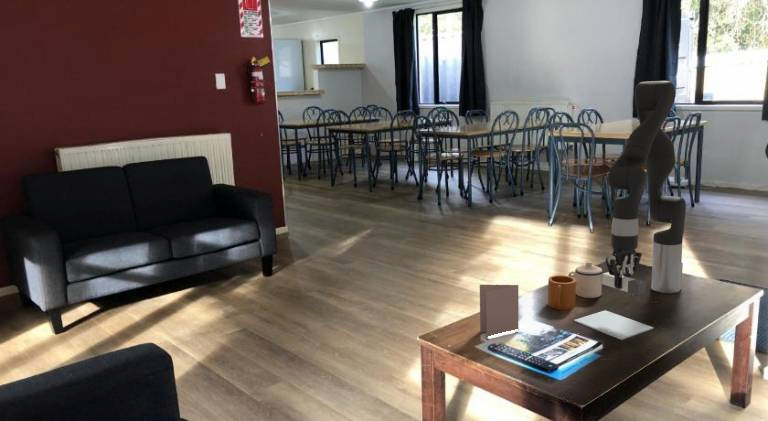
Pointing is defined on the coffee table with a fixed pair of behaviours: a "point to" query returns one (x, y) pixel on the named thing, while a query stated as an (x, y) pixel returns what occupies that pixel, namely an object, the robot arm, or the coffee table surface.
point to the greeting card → (498, 308)
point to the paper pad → (613, 324)
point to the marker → (625, 284)
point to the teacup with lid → (588, 280)
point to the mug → (561, 292)
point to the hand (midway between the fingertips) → (622, 286)
